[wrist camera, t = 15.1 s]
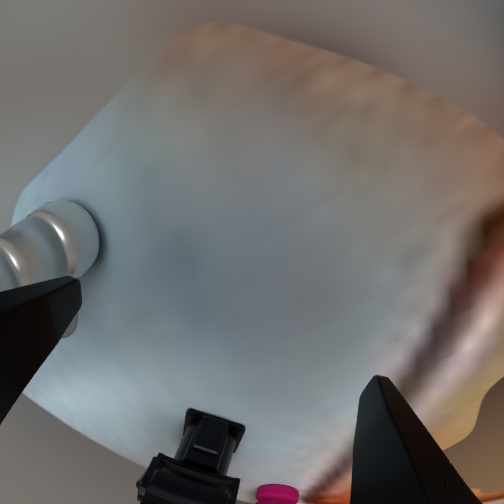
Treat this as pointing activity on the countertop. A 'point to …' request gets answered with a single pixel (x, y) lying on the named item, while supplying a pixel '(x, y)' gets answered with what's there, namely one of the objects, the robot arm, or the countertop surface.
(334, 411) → the countertop surface
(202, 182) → the countertop surface
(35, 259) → the silver bottle
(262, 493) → the pepper mill
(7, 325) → the robot arm
